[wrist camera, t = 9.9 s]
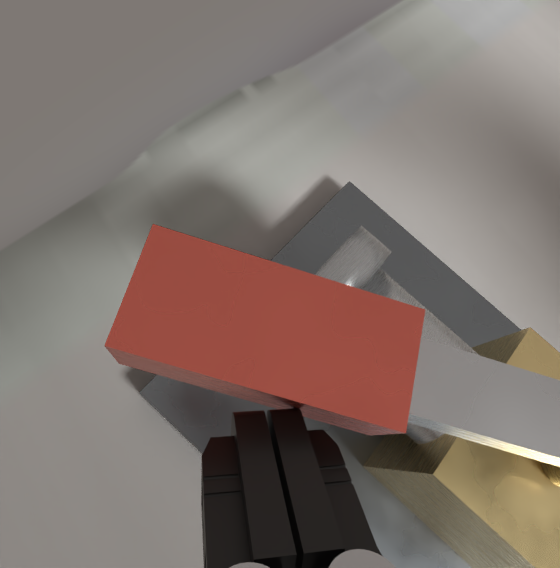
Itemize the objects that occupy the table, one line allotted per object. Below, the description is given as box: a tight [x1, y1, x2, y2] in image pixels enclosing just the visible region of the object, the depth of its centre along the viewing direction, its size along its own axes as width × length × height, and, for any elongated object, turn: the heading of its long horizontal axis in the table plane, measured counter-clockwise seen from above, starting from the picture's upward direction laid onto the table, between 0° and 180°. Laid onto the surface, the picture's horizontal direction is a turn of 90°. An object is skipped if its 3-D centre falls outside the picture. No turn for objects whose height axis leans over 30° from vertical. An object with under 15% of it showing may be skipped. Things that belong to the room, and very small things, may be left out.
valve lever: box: [105, 224, 560, 467], centre depth 12 cm, size 17×4×2 cm, turn 75°
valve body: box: [139, 181, 560, 568], centre depth 19 cm, size 27×16×12 cm, turn 49°
